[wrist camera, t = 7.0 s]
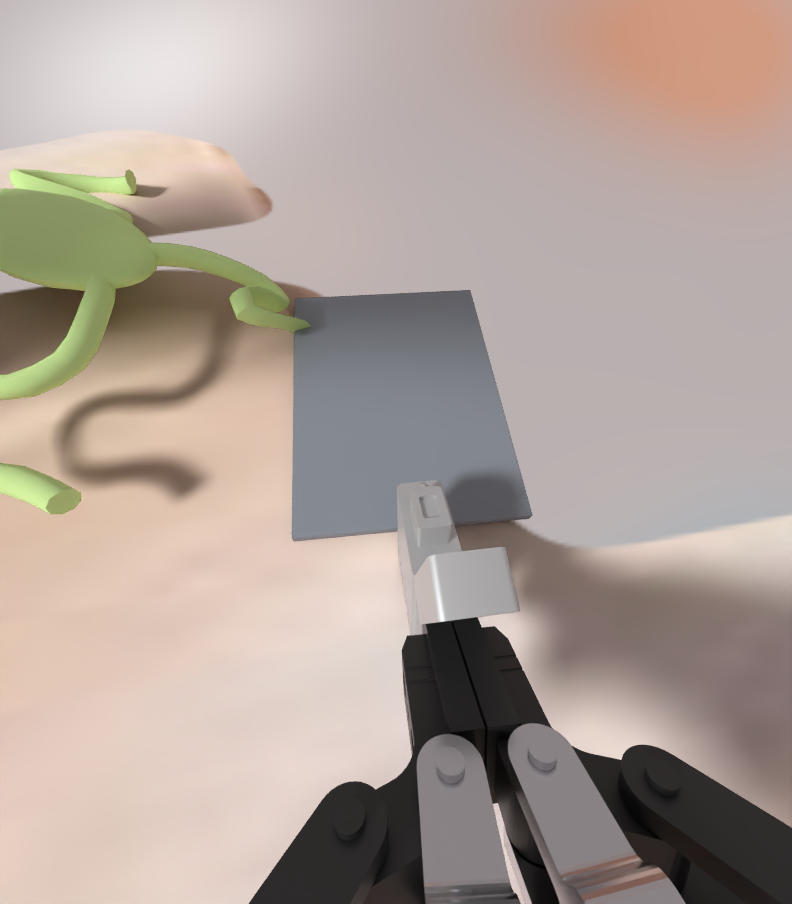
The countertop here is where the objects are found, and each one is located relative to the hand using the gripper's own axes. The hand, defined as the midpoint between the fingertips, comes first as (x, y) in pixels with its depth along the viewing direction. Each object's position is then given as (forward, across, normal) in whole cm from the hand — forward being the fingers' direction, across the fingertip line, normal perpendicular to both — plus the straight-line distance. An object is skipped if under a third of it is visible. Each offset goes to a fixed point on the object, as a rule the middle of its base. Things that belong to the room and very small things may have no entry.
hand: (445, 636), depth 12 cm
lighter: (+3, 0, +3) cm, 4 cm away
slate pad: (+12, 0, -5) cm, 13 cm away
